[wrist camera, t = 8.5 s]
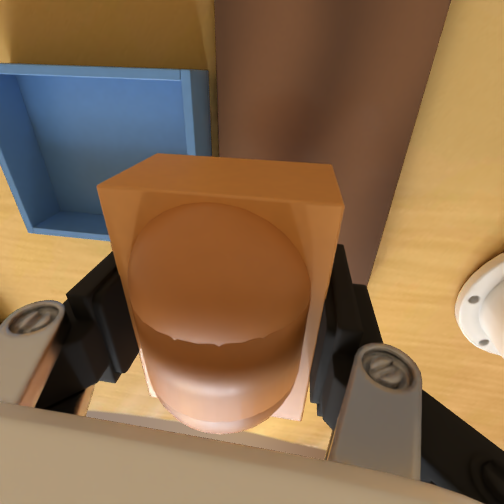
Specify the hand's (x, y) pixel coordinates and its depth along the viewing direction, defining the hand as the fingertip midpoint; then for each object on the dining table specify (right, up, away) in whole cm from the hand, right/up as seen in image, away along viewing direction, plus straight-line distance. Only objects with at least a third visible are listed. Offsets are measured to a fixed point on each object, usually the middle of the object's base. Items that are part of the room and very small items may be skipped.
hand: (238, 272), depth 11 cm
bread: (0, 0, 0) cm, 0 cm away
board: (+5, +7, +12) cm, 15 cm away
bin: (-10, +9, +14) cm, 19 cm away
